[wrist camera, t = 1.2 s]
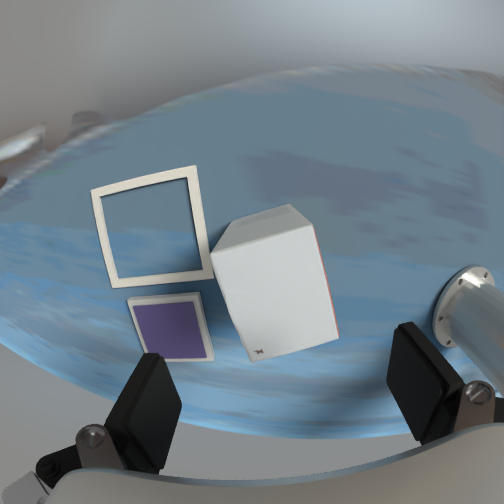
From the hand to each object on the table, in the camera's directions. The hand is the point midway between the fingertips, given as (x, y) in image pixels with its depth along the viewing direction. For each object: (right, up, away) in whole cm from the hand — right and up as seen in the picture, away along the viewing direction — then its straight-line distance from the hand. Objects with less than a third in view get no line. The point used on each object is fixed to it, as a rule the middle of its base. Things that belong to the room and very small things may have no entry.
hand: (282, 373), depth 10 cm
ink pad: (-11, -5, +22) cm, 25 cm away
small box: (+1, +5, +19) cm, 20 cm away
